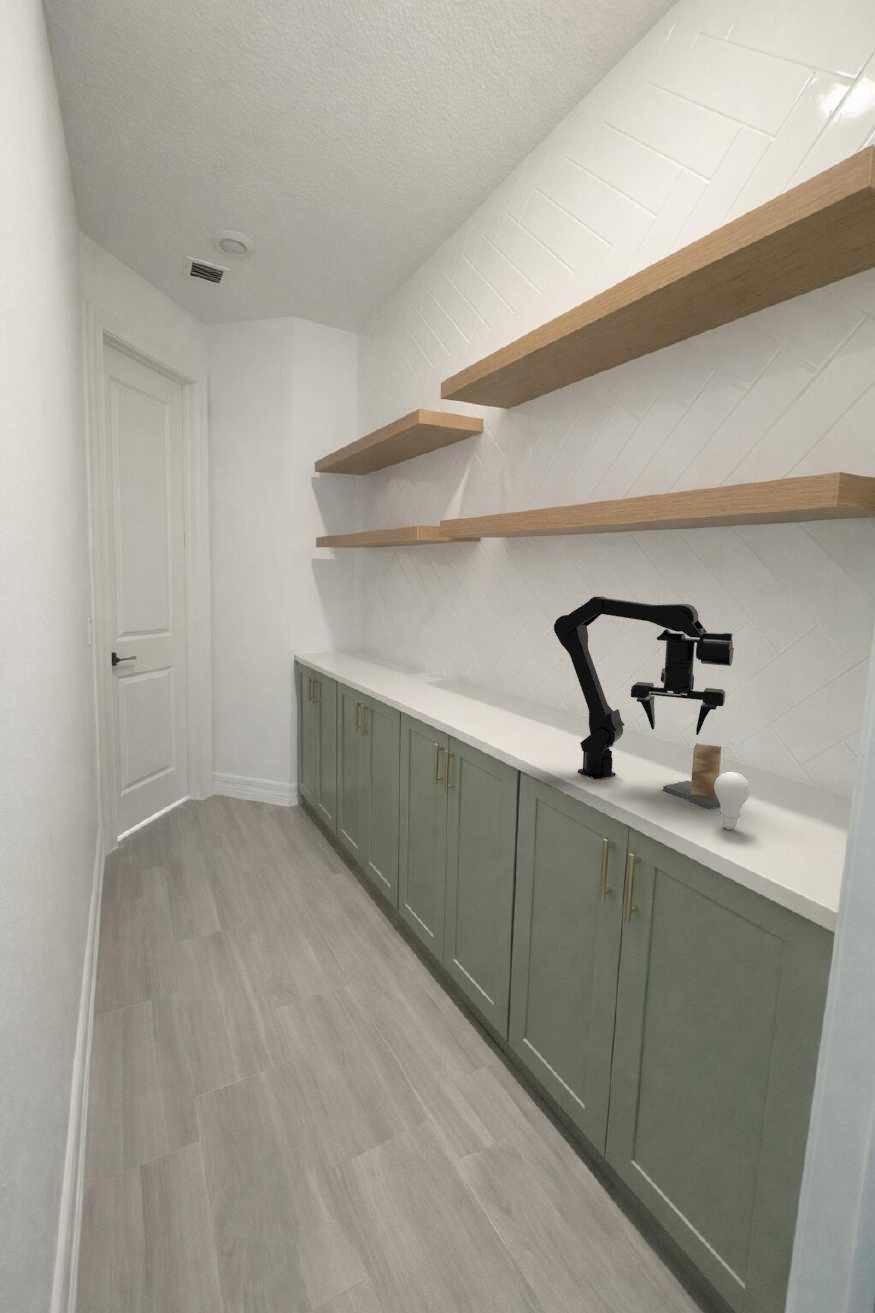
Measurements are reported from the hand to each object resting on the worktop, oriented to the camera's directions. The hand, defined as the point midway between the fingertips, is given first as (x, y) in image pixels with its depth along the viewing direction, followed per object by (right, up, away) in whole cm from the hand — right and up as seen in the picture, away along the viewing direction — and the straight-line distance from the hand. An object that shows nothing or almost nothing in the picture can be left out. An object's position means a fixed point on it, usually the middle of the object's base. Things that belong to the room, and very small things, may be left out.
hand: (674, 731), depth 132 cm
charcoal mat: (+4, -14, -3) cm, 14 cm away
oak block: (+5, -13, -3) cm, 14 cm away
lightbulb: (+2, -16, -19) cm, 25 cm away
